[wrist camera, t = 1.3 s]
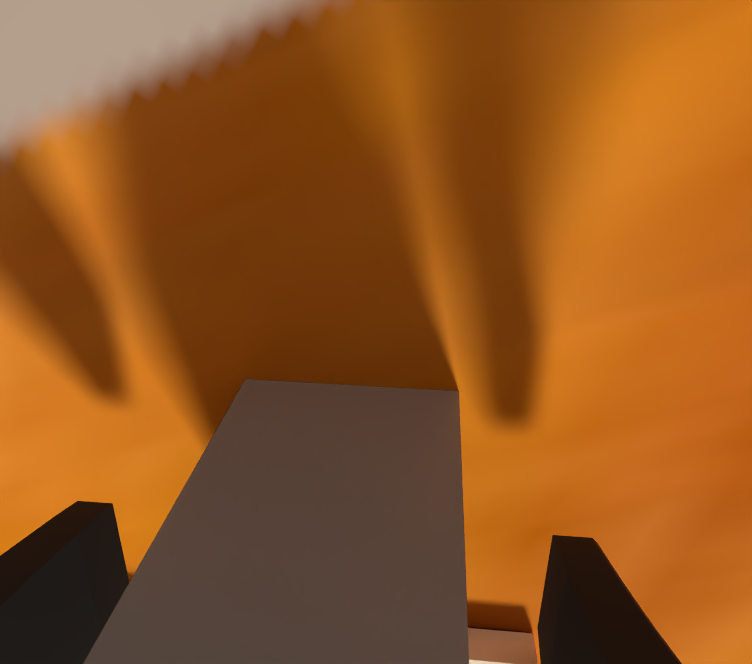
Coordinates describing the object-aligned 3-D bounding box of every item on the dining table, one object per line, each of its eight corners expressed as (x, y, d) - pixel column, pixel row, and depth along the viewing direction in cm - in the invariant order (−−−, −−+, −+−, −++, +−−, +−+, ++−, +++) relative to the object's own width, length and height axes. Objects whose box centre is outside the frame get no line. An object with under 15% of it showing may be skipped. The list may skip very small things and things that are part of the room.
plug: (458, 390, 12) (472, 745, 6) (446, 555, 14) (448, 957, 8) (245, 378, 12) (60, 704, 6) (260, 540, 14) (125, 915, 8)
